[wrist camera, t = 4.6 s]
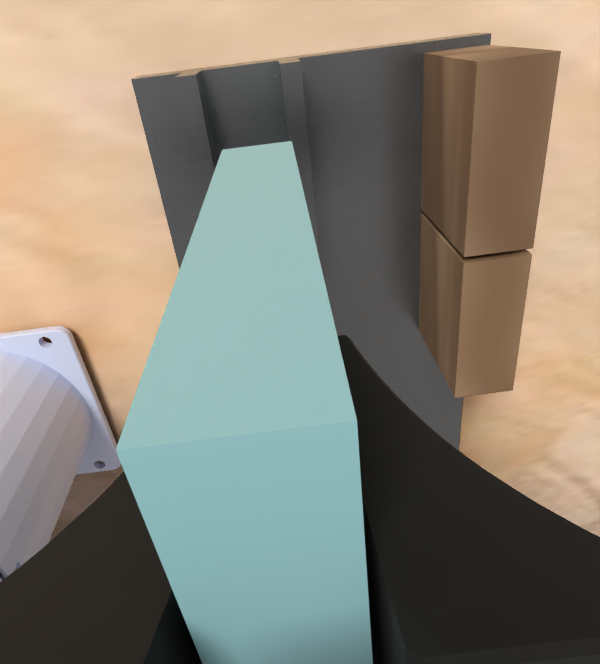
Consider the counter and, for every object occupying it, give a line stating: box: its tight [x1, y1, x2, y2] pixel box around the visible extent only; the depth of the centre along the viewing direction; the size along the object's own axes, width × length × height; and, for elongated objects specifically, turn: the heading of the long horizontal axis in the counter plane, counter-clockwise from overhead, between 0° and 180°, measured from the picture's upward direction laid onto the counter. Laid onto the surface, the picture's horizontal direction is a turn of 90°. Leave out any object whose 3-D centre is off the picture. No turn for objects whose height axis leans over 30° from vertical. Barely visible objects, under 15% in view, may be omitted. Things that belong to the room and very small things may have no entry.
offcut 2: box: [419, 214, 532, 398], centre depth 18 cm, size 2×5×4 cm, turn 6°
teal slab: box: [116, 141, 373, 664], centre depth 9 cm, size 2×8×9 cm, turn 6°
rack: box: [131, 33, 491, 450], centre depth 22 cm, size 11×25×2 cm, turn 6°
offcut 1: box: [421, 45, 561, 257], centre depth 15 cm, size 2×5×4 cm, turn 6°
